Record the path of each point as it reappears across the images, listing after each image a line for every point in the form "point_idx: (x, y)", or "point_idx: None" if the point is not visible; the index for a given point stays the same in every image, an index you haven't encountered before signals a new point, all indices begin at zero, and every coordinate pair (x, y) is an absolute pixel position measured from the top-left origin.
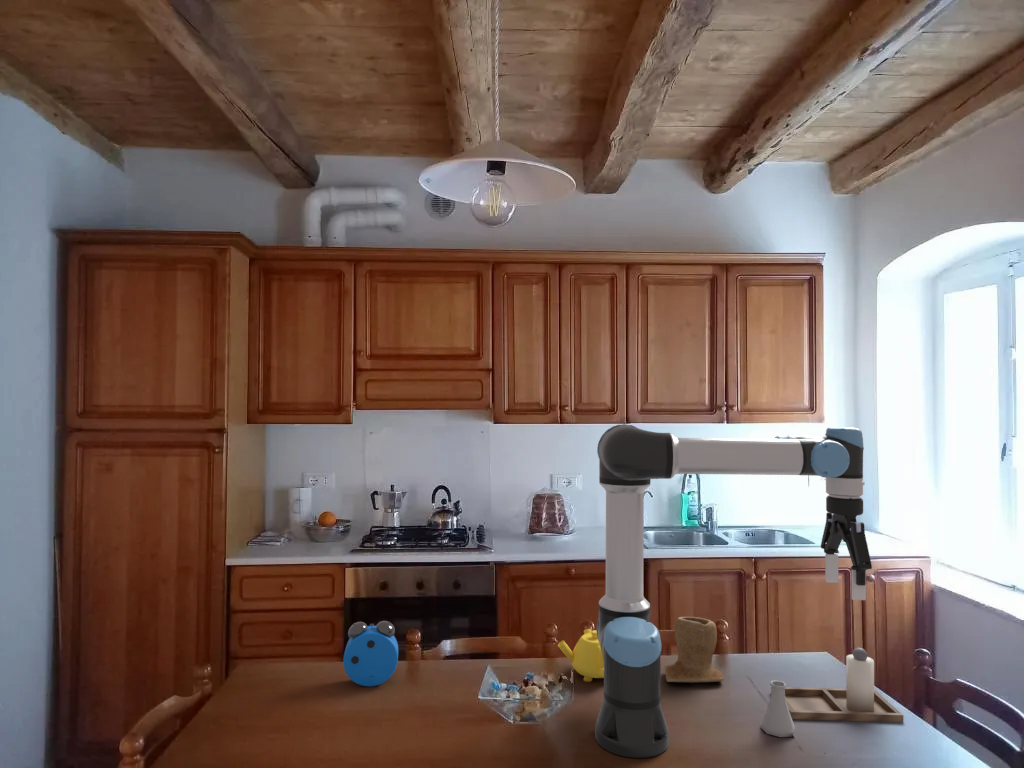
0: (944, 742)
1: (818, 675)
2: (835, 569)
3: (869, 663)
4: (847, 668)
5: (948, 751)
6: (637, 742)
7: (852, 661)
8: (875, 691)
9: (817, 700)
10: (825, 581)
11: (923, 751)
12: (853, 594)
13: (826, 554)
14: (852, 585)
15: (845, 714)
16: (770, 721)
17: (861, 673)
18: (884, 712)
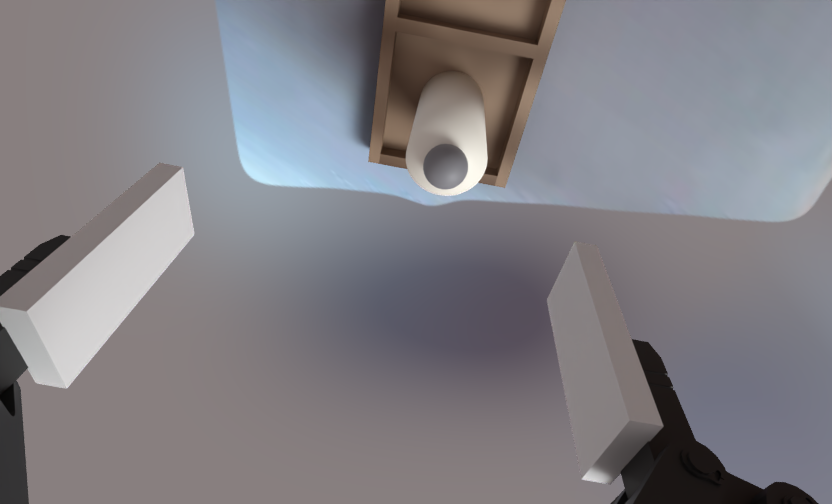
0: (304, 181)
1: (675, 127)
2: (568, 355)
3: (408, 165)
4: (456, 109)
5: (268, 163)
6: None
7: (430, 122)
8: (493, 182)
9: (513, 6)
10: (594, 246)
11: (263, 114)
12: (140, 183)
13: (635, 422)
14: (105, 214)
15: (384, 16)
16: None
17: (413, 127)
18: None
